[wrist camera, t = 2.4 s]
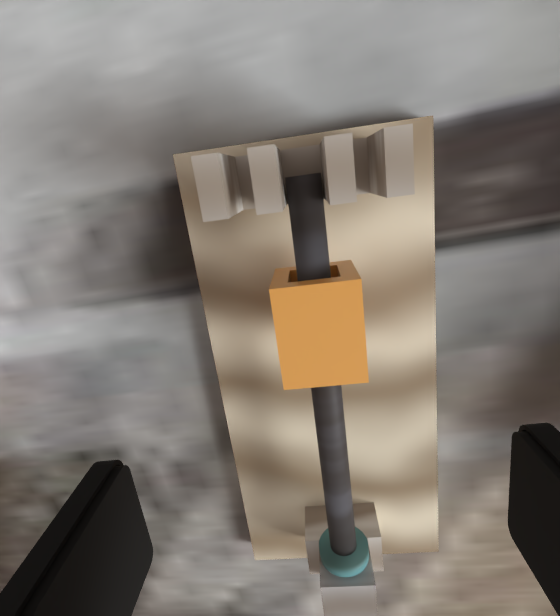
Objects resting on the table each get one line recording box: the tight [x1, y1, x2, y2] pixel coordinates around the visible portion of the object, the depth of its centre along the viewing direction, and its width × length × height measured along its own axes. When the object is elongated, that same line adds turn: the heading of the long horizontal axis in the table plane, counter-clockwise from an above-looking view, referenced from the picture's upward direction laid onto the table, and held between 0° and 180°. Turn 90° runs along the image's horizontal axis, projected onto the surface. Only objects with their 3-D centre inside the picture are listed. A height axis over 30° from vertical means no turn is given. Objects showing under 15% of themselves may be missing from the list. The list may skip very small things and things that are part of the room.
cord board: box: [173, 116, 438, 616], centre depth 23 cm, size 30×14×9 cm, turn 8°
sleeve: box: [269, 260, 369, 390], centre depth 20 cm, size 5×4×4 cm
